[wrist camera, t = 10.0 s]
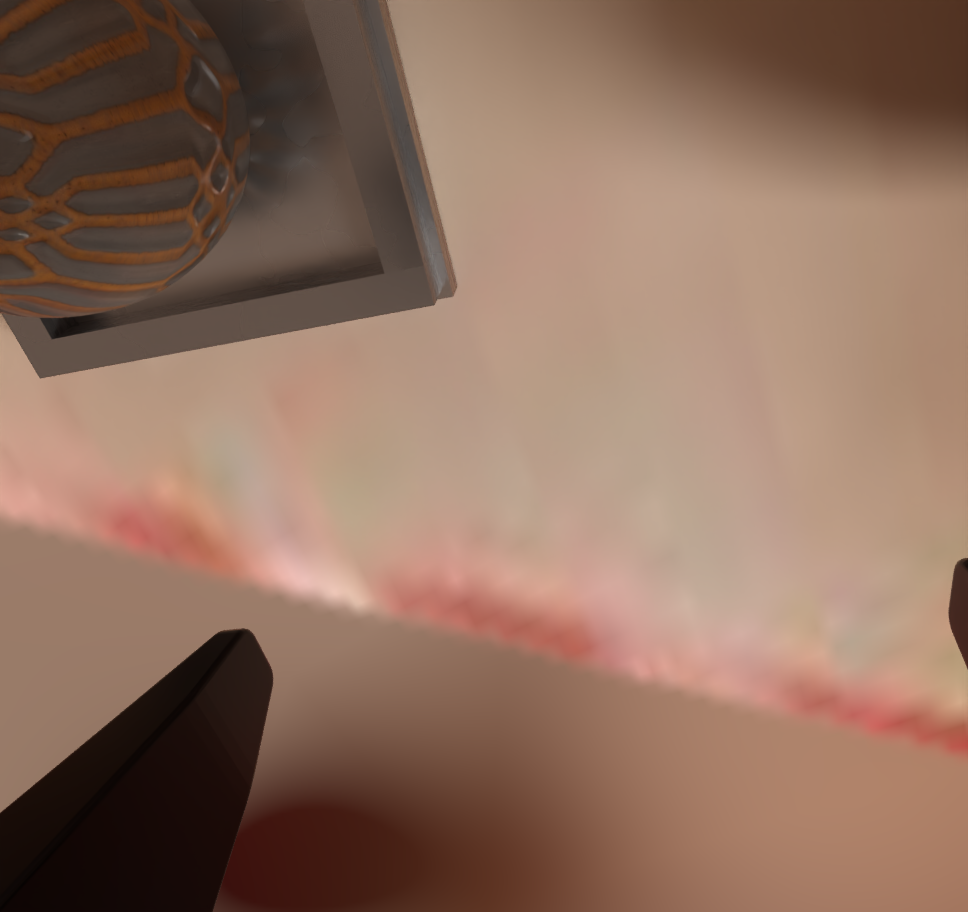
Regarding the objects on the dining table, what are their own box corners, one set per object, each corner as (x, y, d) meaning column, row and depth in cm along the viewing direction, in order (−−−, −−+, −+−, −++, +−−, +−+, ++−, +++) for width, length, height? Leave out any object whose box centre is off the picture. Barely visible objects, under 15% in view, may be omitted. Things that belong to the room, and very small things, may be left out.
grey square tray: (305, -323, 14) (267, -370, 12) (457, 286, 20) (446, 312, 18) (-193, -133, 16) (-283, -148, 14) (78, 358, 22) (37, 387, 20)
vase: (-6, 183, 18) (-383, 315, 11) (-2, -141, 15) (-565, -266, 7) (255, 290, 19) (67, 477, 12) (320, 10, 16) (105, 33, 8)
